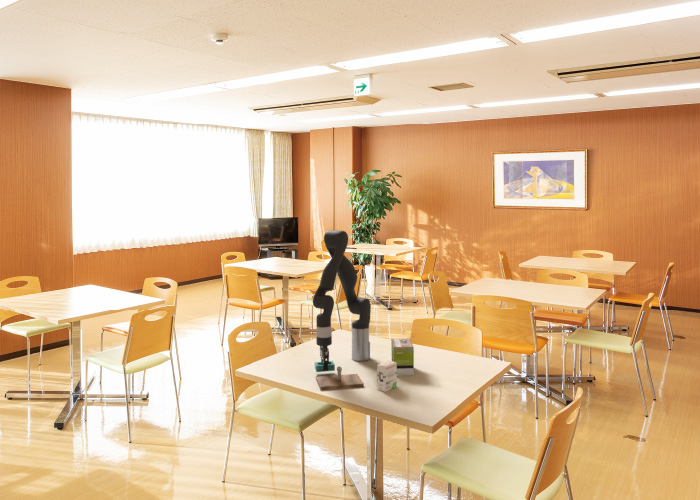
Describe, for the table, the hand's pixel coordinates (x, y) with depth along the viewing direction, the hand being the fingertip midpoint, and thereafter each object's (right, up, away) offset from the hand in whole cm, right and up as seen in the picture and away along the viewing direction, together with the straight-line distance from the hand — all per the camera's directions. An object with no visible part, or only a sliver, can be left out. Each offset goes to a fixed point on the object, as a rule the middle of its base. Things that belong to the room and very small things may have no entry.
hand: (324, 368), depth 268 cm
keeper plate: (+8, -4, -13) cm, 15 cm away
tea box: (+39, -3, +5) cm, 39 cm away
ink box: (+29, -5, -19) cm, 36 cm away
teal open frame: (0, -1, 0) cm, 1 cm away
